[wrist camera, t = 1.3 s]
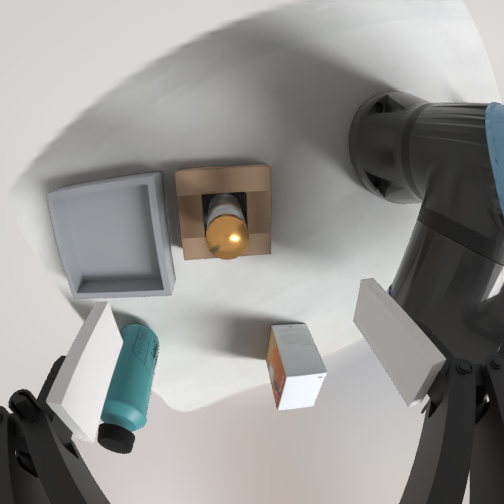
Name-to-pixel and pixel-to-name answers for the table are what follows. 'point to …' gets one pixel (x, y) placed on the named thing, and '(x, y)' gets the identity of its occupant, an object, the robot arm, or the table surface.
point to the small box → (294, 366)
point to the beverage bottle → (129, 389)
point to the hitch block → (224, 181)
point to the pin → (226, 227)
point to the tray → (114, 237)
